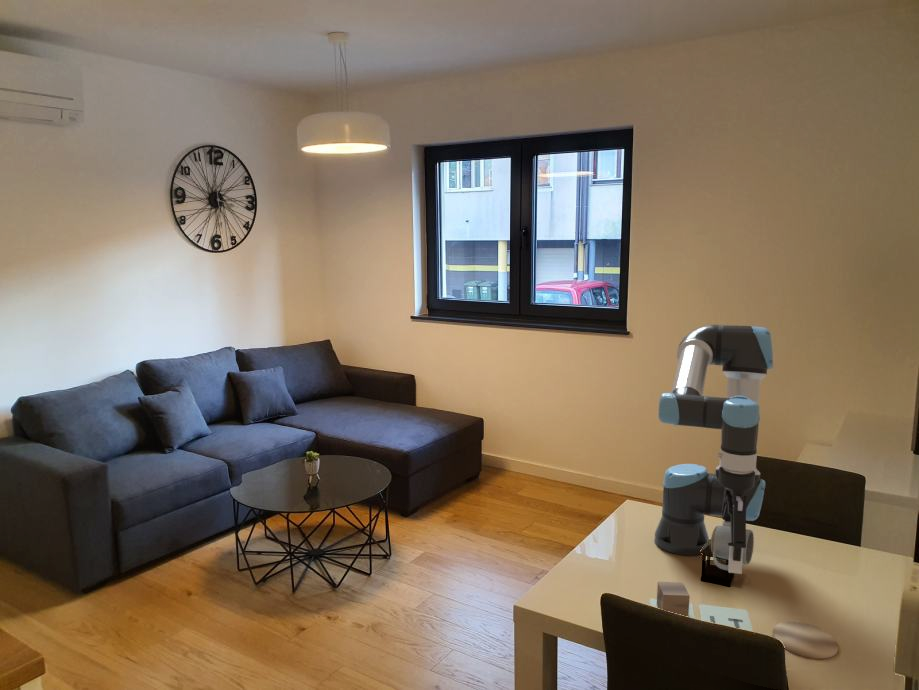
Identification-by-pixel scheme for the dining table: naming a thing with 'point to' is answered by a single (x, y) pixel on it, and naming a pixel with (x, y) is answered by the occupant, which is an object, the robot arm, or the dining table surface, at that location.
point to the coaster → (806, 640)
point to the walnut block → (673, 597)
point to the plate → (691, 613)
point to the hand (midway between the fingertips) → (730, 559)
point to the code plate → (726, 616)
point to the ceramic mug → (721, 548)
